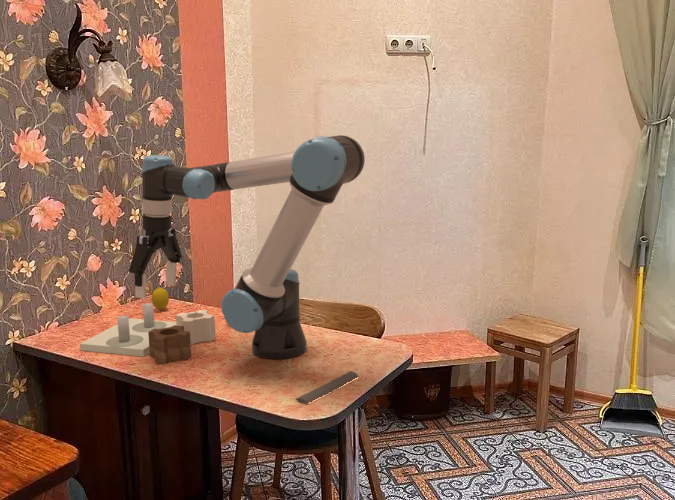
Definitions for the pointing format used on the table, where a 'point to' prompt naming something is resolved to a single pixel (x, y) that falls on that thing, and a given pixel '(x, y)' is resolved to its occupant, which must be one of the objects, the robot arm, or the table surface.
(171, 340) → the walnut gear
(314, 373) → the table surface
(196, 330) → the cream gear
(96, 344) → the board
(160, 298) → the lemon
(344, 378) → the gray half cylinder
